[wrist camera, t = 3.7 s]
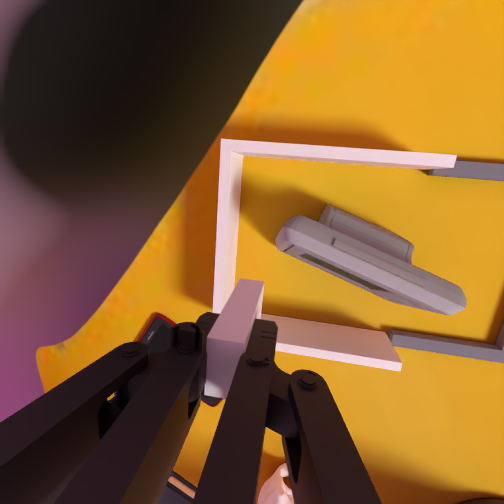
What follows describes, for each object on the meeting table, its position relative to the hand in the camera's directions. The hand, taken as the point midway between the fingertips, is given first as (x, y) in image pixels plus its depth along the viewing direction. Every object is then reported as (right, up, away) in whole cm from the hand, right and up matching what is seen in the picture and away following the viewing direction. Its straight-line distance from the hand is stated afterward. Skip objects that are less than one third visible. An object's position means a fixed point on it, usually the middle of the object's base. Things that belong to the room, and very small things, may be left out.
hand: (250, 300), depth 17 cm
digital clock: (+11, +3, +16) cm, 19 cm away
